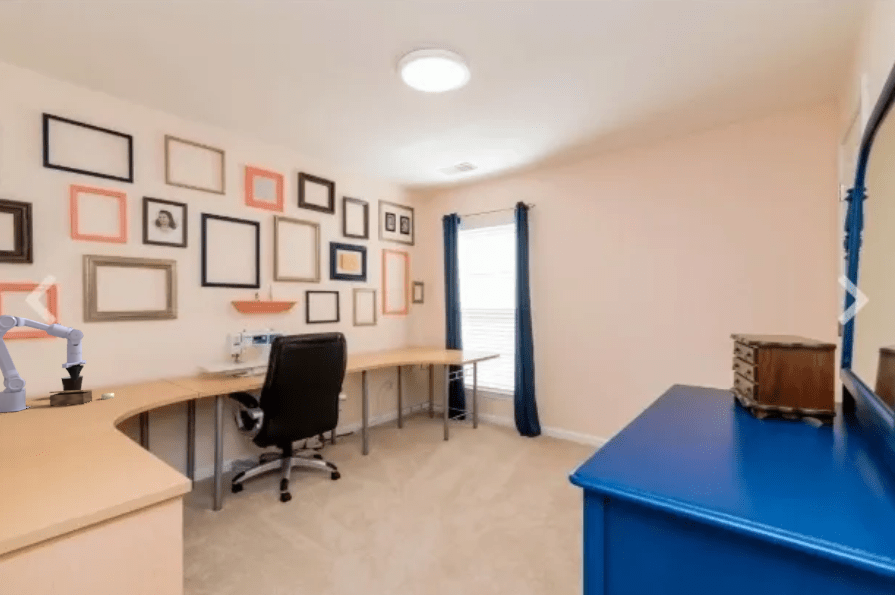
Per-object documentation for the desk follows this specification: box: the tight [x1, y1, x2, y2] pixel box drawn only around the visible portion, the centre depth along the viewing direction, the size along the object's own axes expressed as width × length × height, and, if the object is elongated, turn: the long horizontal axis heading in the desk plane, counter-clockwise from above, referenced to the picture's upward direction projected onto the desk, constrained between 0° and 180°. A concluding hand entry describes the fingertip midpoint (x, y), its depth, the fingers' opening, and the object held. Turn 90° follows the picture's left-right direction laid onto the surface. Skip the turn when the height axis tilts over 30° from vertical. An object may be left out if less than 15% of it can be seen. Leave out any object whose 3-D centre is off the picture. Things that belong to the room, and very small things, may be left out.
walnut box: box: [49, 390, 93, 406], centre depth 207 cm, size 14×6×5 cm, turn 101°
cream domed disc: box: [100, 392, 115, 400], centre depth 218 cm, size 5×5×2 cm
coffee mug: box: [61, 374, 84, 393], centre depth 224 cm, size 12×9×10 cm
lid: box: [49, 389, 93, 394], centre depth 207 cm, size 14×7×1 cm, turn 101°
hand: (74, 380), depth 212 cm, fingers closed
